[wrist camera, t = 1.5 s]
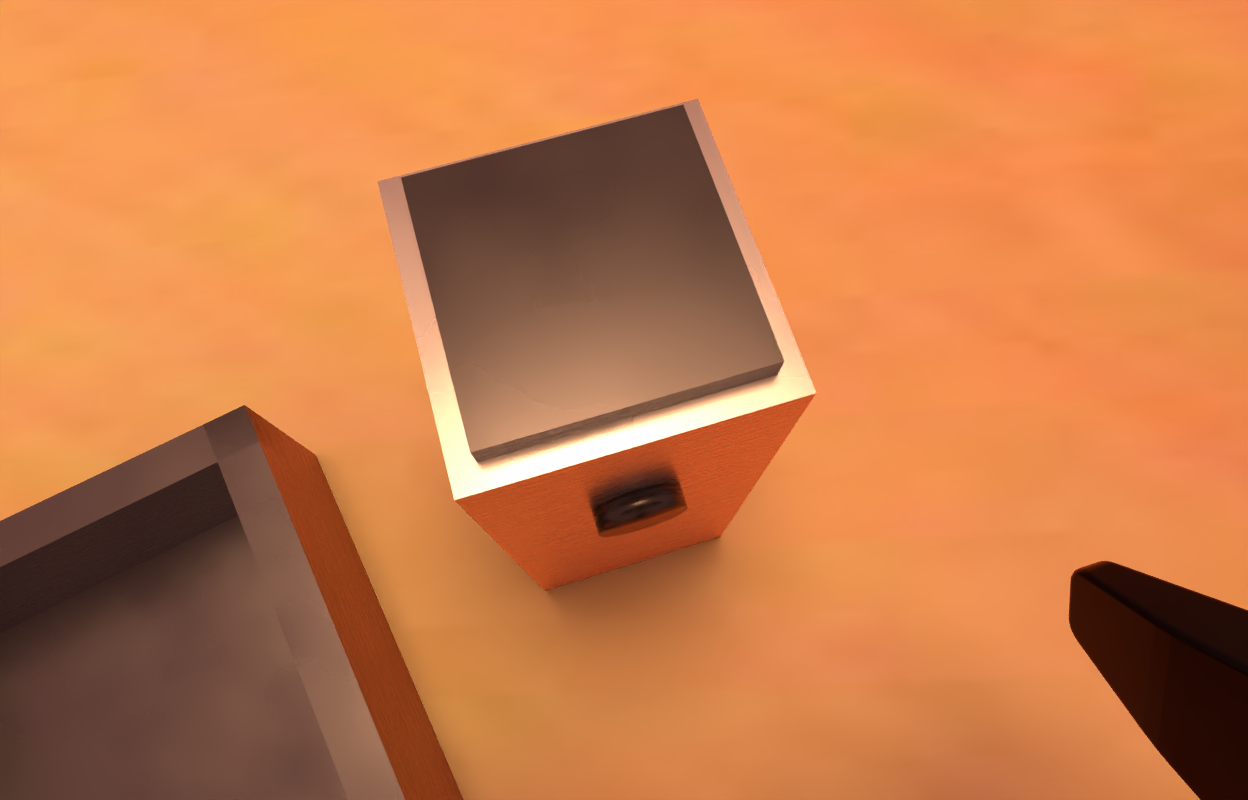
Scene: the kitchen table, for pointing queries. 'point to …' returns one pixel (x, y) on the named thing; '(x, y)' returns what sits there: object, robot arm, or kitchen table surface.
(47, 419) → the kitchen table surface
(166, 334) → the kitchen table surface
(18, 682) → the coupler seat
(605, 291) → the block
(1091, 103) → the kitchen table surface
